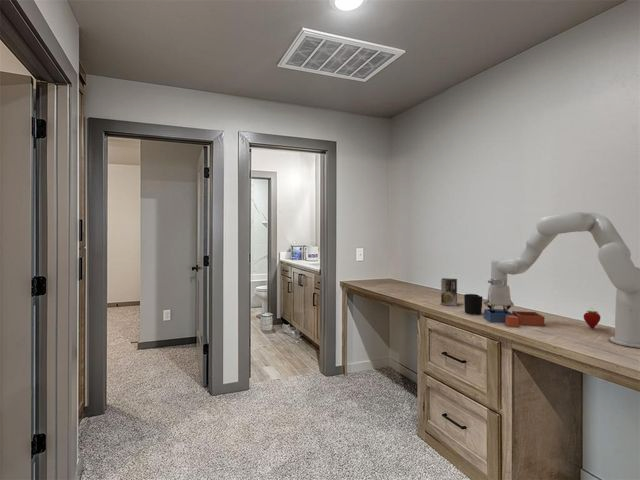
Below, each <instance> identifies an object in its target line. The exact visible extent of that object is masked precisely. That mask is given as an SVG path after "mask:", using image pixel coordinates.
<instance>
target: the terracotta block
mask: <svg viewBox="0 0 640 480" xmlns="http://www.w3.org/2000/svg"><path fill="white" fill-rule="evenodd" d="M518 320H519V318H518V317H516V316H509V315H506V319H505V323H504V324H505V326H506V327H509V328H518V327H519V324H518Z"/></svg>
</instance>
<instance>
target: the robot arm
mask: <svg viewBox="0 0 640 480" xmlns="http://www.w3.org/2000/svg"><path fill="white" fill-rule="evenodd" d="M535 228H536V229H535V230H534V231H533V232H532V234H530V236H529V237H528V238H527V239H526V241H525V248H524V250H522V252H521V253H520V254H519V256H518V257H517V258H513V259H505V258H492V259H491V262H490V279H488V280H487V283H488V284H489V286H488V291H487V298H486V299H485V301H484V302H483V305H484V306H487V309H490V310H491V313H495V311H494V309H495V307H496V306H502V309H503V310H504V311H505V314H507V311H509V310H510V308H512V307H514V306H515V303H514V302H513V301H512V300H511V299H512V298H511V290H510V285H508V275H512V276H513V275H520V274H523V273H526V272H527V271H528V270H529V269H530V268H531V267H532V266H533V265H534V264H535V263H536V262H537V261H538V259H539V257H540V256H541V255H542V253H543V252H544V250H546V248H547V247H548V246H549V245H550V244H551V243H552V242H553V241H554V240H555V238H556V237H558V235H561V234H567V233H568V234H569V233H577V232H578V233H581V232H589V233H590V234H591V235H592V238H593V240H594V241H595V243H596V245H597V246H598V250H597V259H598V260H599V263H600V265H601V266H602V268H603V270H604V272H605V274H606V276H607V277H608V279H609V281H610V282H611V284H612V285H613V286H614V287H615V288H616V289H615V290H616V291H615V308H614V309H615V312H614V314H615V315H614V316H615V317H614V336H611V337H609V341H610V342H611V343H613V344H616V345H620V346H624V347H630V348H638V349H640V267H637V266H636V265H635V264H634V262H633V260H632V259H631V256H632V253H631V250H630V248H629V247H628V246H627V244H626V243H625V241H624V239H623V237H622V236H621V235H620V233H619V232H618V230H617V228H616V227H615V226H614V224H613V223H612V221H611V220H610V219H609V218H608V217H607V216H605V215H603V214H600V213H595V212H582V211H572V212H567V213H560V214H554V215H548V216H543V217H541V218H540V219H538V220H537V222H536V225H535Z"/></svg>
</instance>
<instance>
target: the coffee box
mask: <svg viewBox="0 0 640 480" xmlns="http://www.w3.org/2000/svg"><path fill="white" fill-rule="evenodd" d="M440 285H441V286H440V288H441V289H440V294H441V295H440V298H441V299H440V300H441V301H440V305H441V306H450V307H451V306H452V307H457V305H458V278H448V277H447V278H446V277H442V278H441V281H440Z"/></svg>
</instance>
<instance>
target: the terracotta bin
mask: <svg viewBox="0 0 640 480" xmlns="http://www.w3.org/2000/svg"><path fill="white" fill-rule="evenodd" d="M511 313H512V314H514V316H516V317H518V318H519V320H518V326H532V327H533V326H536V327H537V326H538V327H545V321H546V320H545V316H544V315H542V314H540V313H538V312H536V311H523V310H522V311H520V310H519V311H518V310H512V312H511Z"/></svg>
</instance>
